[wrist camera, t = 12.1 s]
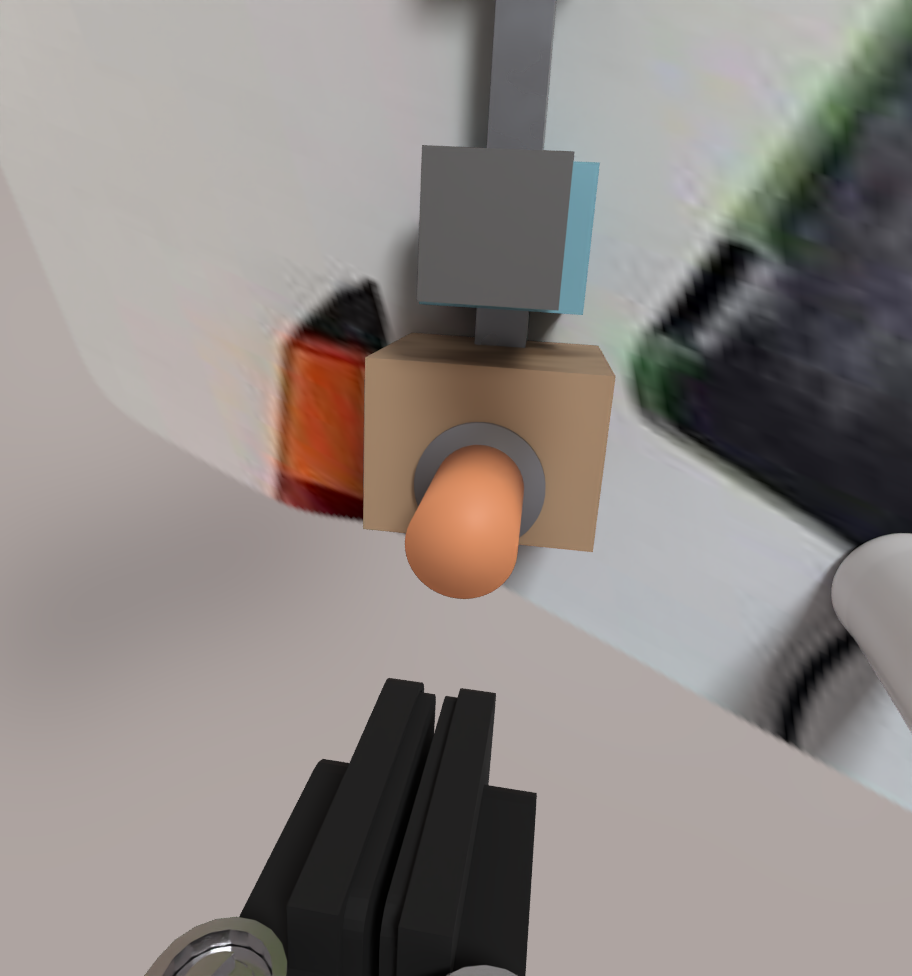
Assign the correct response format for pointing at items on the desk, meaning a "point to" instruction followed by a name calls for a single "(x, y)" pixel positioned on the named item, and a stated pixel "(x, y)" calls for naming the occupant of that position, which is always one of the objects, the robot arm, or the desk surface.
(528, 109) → the rail
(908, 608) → the drinking glass
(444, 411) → the tan box
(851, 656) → the desk surface
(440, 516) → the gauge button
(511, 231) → the carriage
